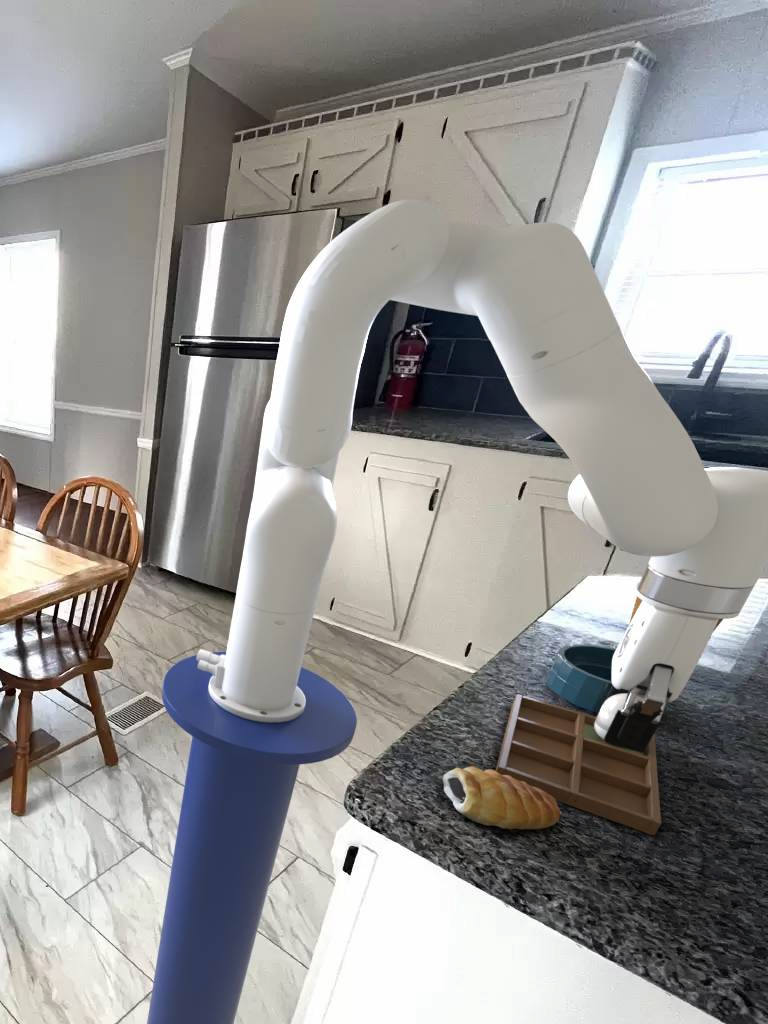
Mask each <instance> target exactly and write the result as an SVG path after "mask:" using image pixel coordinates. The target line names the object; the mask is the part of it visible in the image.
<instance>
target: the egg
mask: <svg viewBox="0 0 768 1024" xmlns="http://www.w3.org/2000/svg"><path fill="white" fill-rule="evenodd" d="M627 694H628V693H622V694H616V695H613V696H611V697H609V698H608V699H607V700H605V702H604V703H603V705H602V707H601V709H600V711H599V713H598V714H597V715H596V716H595V717H596V719H595V722H594V728H595V731H596V733H597V734H598V736H599V737H600V738H601V739H603V740H604V737H605V735H606V733H607V731H608V729H609V727H610V725H611V723H612V721H613V718H614V716H615V714H616V712H617V710H621V711H622V709H623V706H624V703H625V700H626V697H627ZM638 701H641V702H642V701H643V698H642V697H639V696H636V698H635V701H634V703H637V702H638ZM633 705H634V704H633ZM604 741H605V740H604Z"/></svg>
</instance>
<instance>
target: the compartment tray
mask: <svg viewBox="0 0 768 1024" xmlns="http://www.w3.org/2000/svg"><path fill="white" fill-rule="evenodd" d="M596 717H597V716H595V715H593V714H592V715H591V714H589V713H584V712H581V711H578V710H574V709H571V708H567V707H564V706H560V705H556V704H555V703H554V704H553V703H550V702H546V701H543V700H539V699H536V698H532V697H529V696H526V695H522V694H519V693H516V694H515V697H514V700H513V702H512V705H511V709H510V713H509V715H508V719H507V724H506V727H505V731H504V736H503V740H502V744H501V747H500V751H499V756H498V759H497V764H496V767H495V771H496V772H498V773H499V774H501V775H509V776H511V777H512V778H514V779H516V780H518V781H523V782H526V783H527V784H528V785H529V786H533V787H536V788H539V789H541V790H543V791H544V792H546V793H547V794H549V795H550V796H552V797H553V798H555V800H556V802H559V803H562V804H565V805H567V806H571V807H573V808H576V809H579V810H581V811H585V812H586V813H590V814H593V815H596V816H598V817H600V818H604V819H606V820H610V821H612V822H615V823H617V824H620V825H623V826H626V827H628V828H631V829H634V830H637V831H640V832H643V833H645V834H648V835H650V836H655V835H656V834H657V832H658V830H659V829H660V827H661V826H662V815H661V803H660V790H659V789H660V788H659V777H658V776H659V775H658V763H657V762H658V761H657V750H656V735H655V733H654V735H653V737H652V738H651V740H650V742H649V744H648V746H647V748H646V750H645V751H644V752H637V751H633V750H630V749H627V748H623V747H620V746H617V745H613V744H610V743H607V742H605V741H604V740H603V739H601V738H600V737H599V736H598V734H597V733H596V731H595V728H594V722H595V719H596Z"/></svg>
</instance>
